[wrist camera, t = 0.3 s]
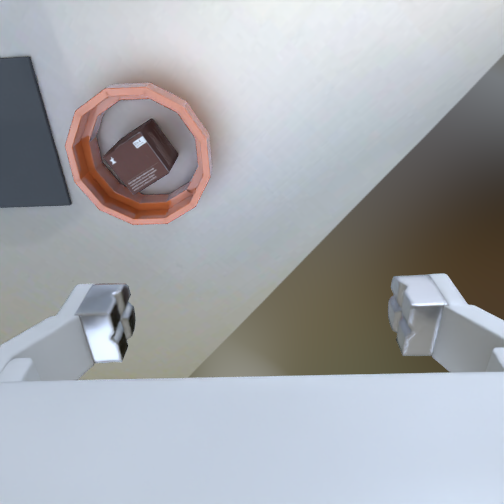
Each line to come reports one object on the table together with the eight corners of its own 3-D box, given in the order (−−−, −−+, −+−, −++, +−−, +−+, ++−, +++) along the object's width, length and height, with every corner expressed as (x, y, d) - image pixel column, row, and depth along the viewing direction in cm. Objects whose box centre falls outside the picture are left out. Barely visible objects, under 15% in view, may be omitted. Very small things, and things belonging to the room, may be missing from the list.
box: (145, 176, 61) (132, 196, 55) (118, 140, 58) (100, 157, 52) (179, 154, 59) (170, 173, 53) (153, 116, 57) (140, 131, 50)
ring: (69, 82, 54) (49, 90, 49) (206, 76, 54) (201, 84, 49) (100, 208, 64) (86, 226, 58) (218, 204, 63) (214, 222, 58)
